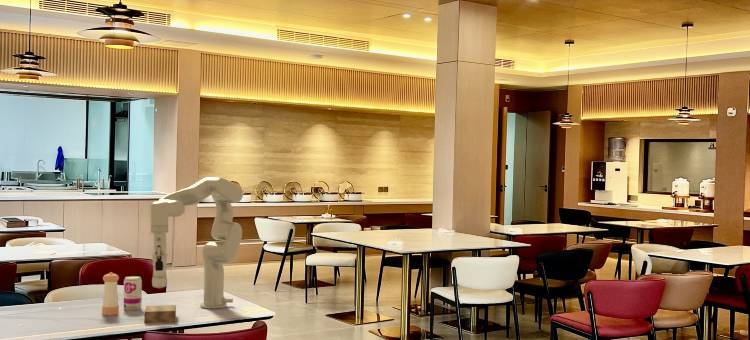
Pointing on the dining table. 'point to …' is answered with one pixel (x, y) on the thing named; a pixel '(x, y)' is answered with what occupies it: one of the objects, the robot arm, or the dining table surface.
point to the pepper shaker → (110, 295)
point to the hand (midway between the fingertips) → (159, 268)
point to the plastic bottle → (159, 273)
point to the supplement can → (132, 293)
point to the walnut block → (160, 314)
